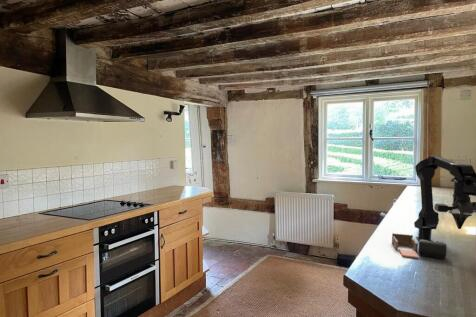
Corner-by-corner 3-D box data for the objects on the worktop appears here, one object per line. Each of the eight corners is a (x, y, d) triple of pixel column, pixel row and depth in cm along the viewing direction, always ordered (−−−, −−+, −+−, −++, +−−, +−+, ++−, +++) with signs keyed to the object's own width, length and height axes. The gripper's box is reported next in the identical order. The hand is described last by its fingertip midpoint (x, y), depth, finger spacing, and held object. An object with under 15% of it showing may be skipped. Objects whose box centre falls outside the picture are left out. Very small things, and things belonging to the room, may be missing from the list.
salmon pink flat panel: (398, 248, 149) (402, 254, 141) (415, 250, 147) (419, 257, 139) (398, 250, 149) (402, 256, 141) (415, 252, 147) (419, 258, 139)
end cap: (418, 257, 142) (419, 241, 141) (418, 252, 148) (419, 237, 148) (445, 261, 137) (446, 245, 137) (444, 256, 143) (445, 241, 143)
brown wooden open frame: (391, 243, 160) (392, 233, 160) (411, 245, 158) (412, 235, 157) (395, 250, 150) (396, 239, 149) (417, 252, 147) (417, 241, 147)
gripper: (442, 194, 138) (440, 231, 139) (495, 197, 133) (492, 236, 133) (435, 190, 148) (433, 225, 149) (483, 193, 143) (481, 229, 144)
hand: (459, 228), depth 144 cm, fingers closed
